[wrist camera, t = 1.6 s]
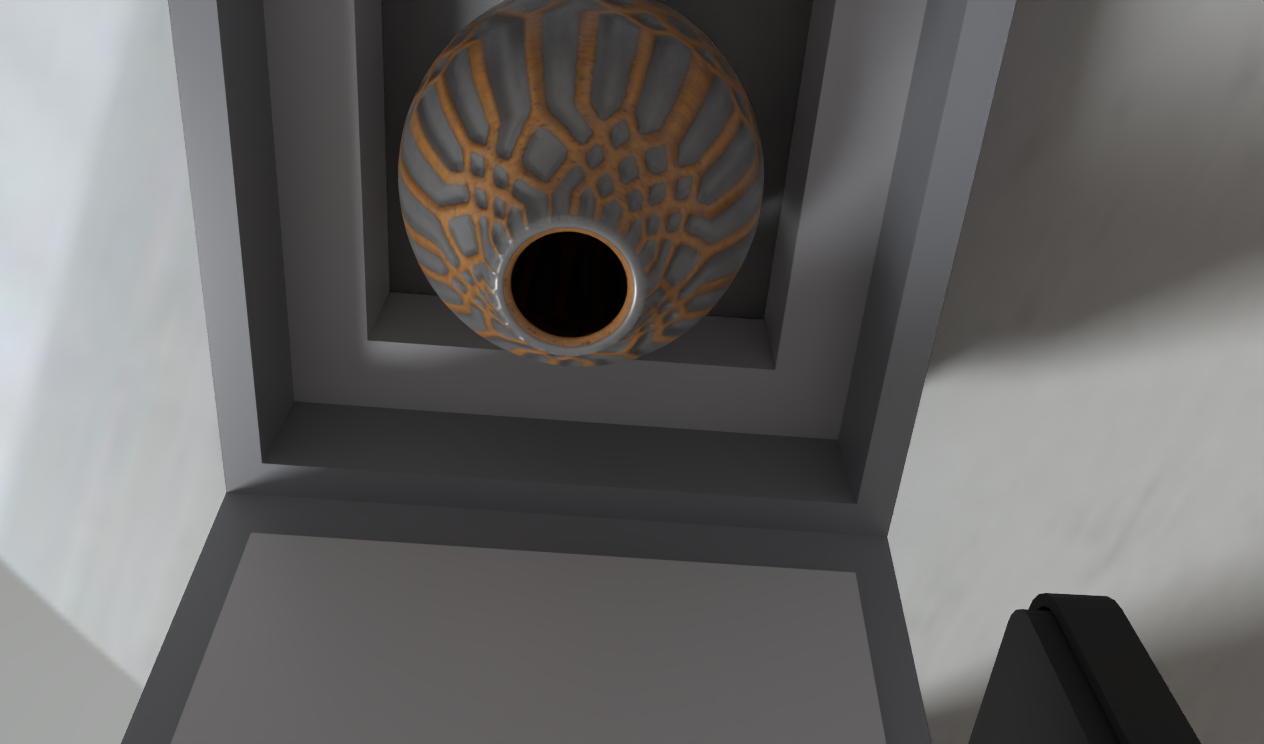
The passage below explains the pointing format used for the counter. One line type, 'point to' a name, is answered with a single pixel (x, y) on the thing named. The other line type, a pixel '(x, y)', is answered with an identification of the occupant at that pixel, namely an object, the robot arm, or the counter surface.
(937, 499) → the counter surface
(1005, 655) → the robot arm
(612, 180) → the vase
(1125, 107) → the counter surface
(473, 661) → the case lid
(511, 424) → the equipment case
